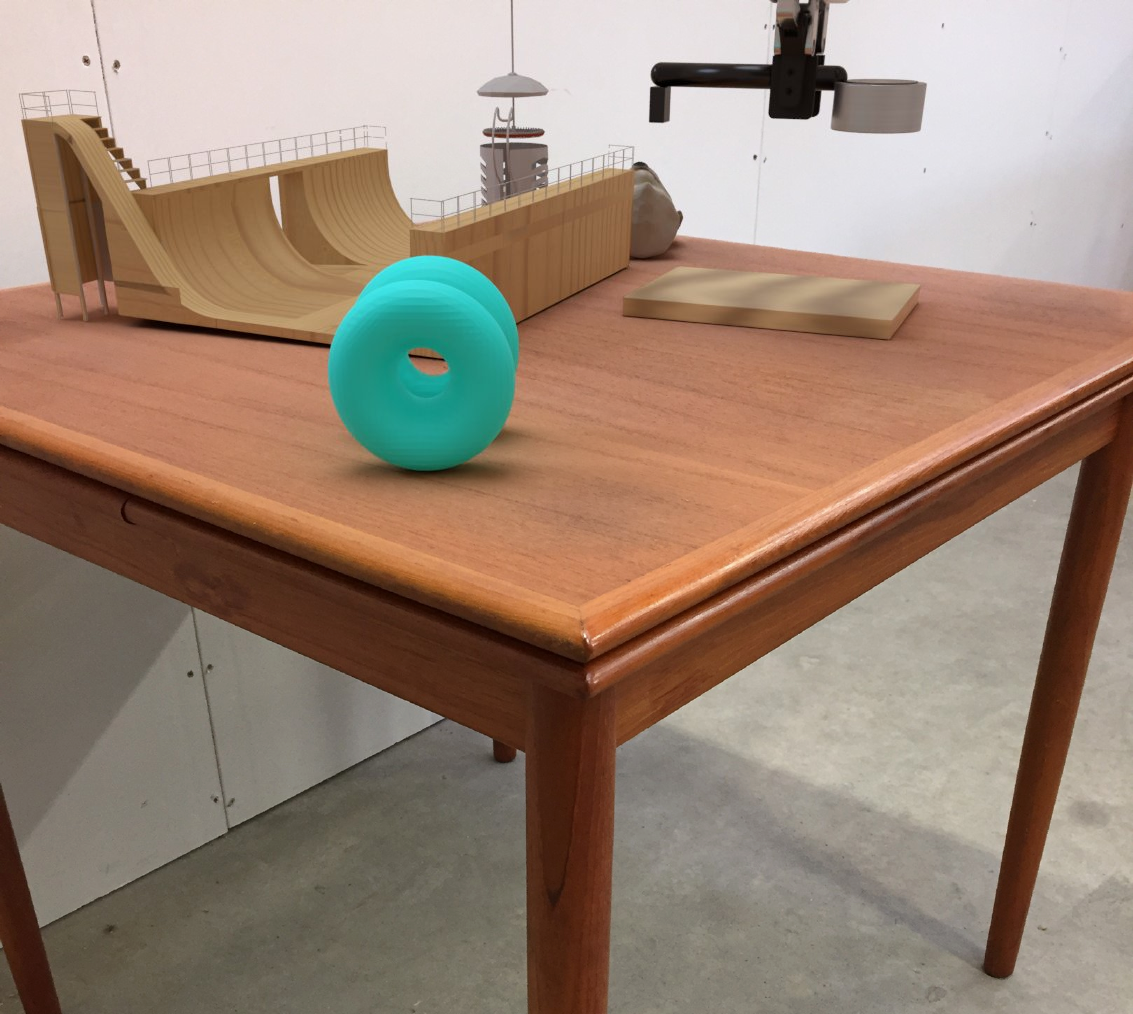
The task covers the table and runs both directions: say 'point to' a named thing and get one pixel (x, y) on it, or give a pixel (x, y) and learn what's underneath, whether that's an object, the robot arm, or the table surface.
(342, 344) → the donuts
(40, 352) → the table surface
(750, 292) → the cutting board
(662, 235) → the ceramic sculpture
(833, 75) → the saucepan
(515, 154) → the bird feeder
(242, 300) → the skate ramp
